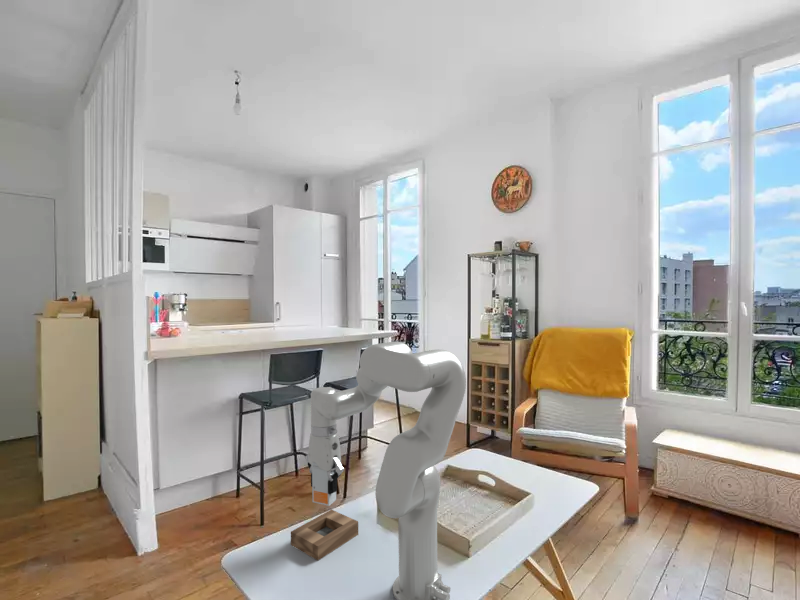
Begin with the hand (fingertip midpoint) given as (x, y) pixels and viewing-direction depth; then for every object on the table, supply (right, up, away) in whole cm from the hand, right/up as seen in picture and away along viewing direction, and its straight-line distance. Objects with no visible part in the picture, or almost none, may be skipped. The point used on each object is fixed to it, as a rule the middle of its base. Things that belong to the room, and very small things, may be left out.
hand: (323, 488), depth 125 cm
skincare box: (0, -4, 0) cm, 4 cm away
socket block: (0, -15, 0) cm, 15 cm away
